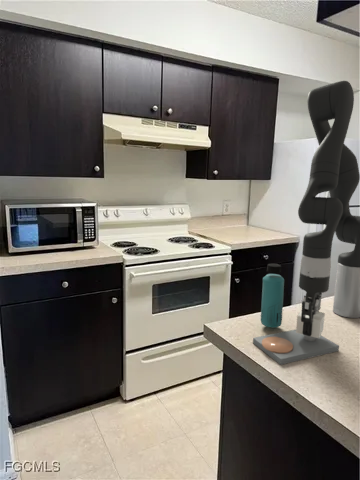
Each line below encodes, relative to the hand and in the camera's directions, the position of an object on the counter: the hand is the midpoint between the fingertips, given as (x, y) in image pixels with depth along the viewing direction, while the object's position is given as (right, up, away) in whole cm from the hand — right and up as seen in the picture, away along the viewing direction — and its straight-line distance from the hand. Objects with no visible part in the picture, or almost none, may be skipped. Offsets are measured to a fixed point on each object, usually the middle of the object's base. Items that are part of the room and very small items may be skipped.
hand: (309, 330), depth 95 cm
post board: (-5, -4, -1) cm, 6 cm away
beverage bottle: (-8, -2, +10) cm, 13 cm away
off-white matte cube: (0, 0, 0) cm, 0 cm away
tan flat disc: (-10, -3, -4) cm, 11 cm away
